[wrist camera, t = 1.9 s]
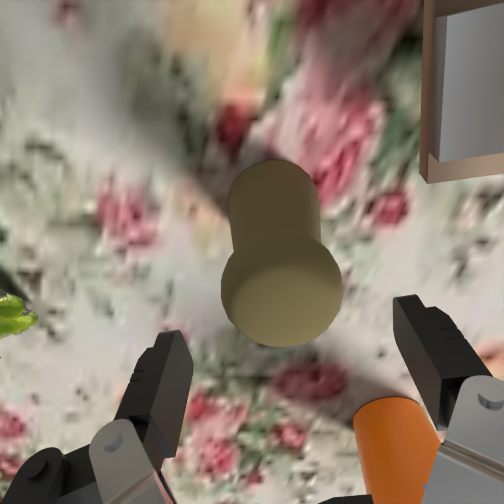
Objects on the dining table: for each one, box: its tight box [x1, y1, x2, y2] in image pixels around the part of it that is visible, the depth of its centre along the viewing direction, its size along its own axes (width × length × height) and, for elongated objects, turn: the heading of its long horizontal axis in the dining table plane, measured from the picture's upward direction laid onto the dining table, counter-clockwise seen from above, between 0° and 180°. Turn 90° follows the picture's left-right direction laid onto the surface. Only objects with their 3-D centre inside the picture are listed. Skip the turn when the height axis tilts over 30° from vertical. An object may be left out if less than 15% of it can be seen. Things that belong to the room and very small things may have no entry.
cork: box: [221, 160, 343, 347], centre depth 18 cm, size 6×6×11 cm
